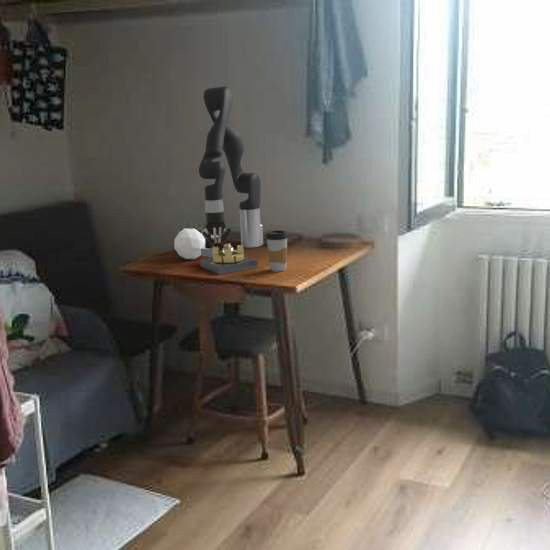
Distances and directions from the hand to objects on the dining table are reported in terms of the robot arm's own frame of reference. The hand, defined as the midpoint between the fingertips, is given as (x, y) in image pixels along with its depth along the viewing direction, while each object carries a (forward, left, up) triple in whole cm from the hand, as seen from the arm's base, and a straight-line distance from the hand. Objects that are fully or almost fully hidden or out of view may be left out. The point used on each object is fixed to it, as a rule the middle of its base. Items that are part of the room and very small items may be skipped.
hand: (217, 251), depth 301 cm
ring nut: (+2, +8, -1) cm, 9 cm away
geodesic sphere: (+6, -14, -4) cm, 16 cm away
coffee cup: (-12, +29, -4) cm, 32 cm away
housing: (+1, +12, -4) cm, 13 cm away
